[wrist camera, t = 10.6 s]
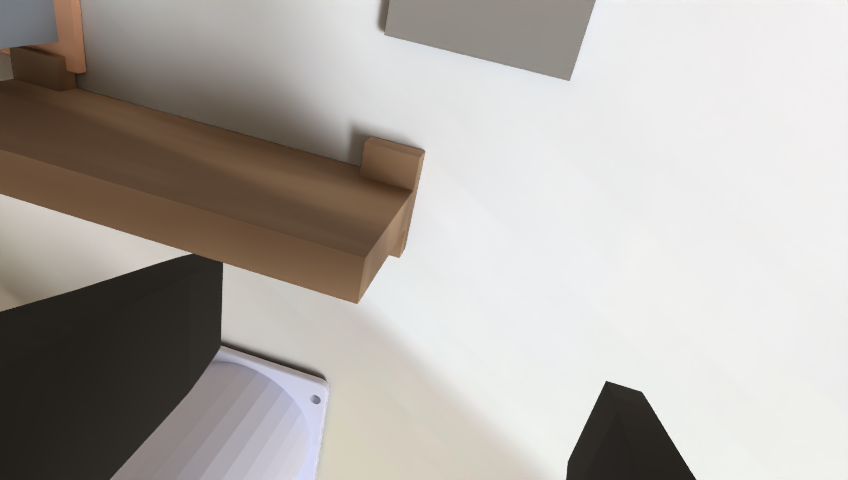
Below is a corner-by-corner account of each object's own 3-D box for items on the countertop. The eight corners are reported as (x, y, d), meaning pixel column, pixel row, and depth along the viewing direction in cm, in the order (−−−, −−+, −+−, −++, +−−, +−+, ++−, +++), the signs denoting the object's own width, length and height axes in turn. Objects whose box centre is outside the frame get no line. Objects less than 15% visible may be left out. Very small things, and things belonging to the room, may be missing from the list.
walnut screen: (404, 248, 21) (351, 338, 16) (41, 141, 23) (-117, 190, 17) (425, 150, 19) (372, 216, 14) (27, 43, 21) (-154, 64, 16)
